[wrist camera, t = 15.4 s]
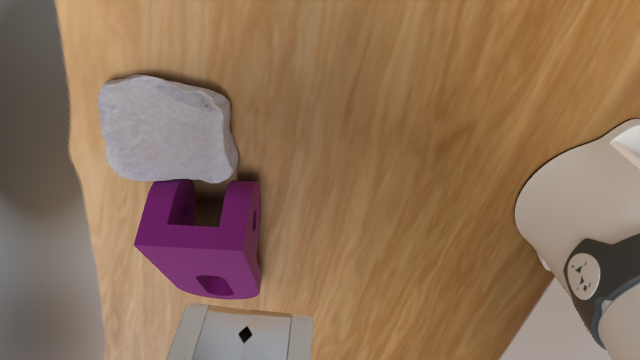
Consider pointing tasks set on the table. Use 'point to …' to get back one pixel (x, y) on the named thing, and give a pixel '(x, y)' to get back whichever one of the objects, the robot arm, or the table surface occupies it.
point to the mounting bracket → (203, 239)
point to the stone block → (166, 130)
